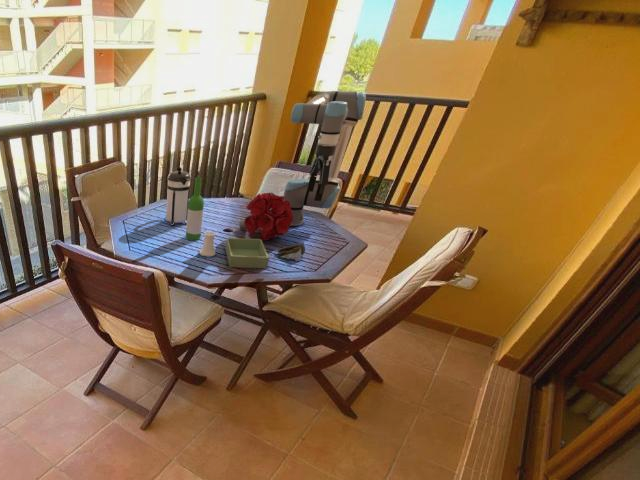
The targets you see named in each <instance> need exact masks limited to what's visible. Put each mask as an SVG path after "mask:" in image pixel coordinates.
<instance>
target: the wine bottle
mask: <svg viewBox="0 0 640 480" xmlns="http://www.w3.org/2000/svg"><path fill="white" fill-rule="evenodd" d="M201 188H202V178H201V177H195V179H194V189H193V195H192V196H191V197H189V203H188V214H187V220H186V223H187V225H186V227H185V237H186V238H187V240H190V241H198V240H200V238H201V237H202V236H201V235H202V227H203V216H204V206H205V201H204V198H203V197H202V196H201Z"/></svg>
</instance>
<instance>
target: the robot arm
mask: <svg viewBox="0 0 640 480" xmlns="http://www.w3.org/2000/svg"><path fill="white" fill-rule="evenodd" d="M366 100H367V93H366V92H364V91H358V90H352V91H351V90H349V91H348V90H330V91H326V92H321V93H319V94H317V95H314V96H313V97H312V98H311V99H310V101H308V102H306V103H303V102H299V103H295V104H294V105H293V107H292V110H291V114H290V122H291V123H294V124H307V125H308V124H309V125H310V124H311V125H321V128H320V131H319V135H318V136H317V139H318V140H317V144H316V147H315V151H314V154H315V157H314V160H313V162H312V165H311V167H310V170H309V178H293V179H290V180H288V181H287V182H286V184H285V187H284V191H283V195H282V196H283V197H285V199H284V200H283V201H285V200H287V201H289V203H290V207H291V212H292V215H294V217H292V218H293V220H292V223H291V225H290V227H289V228H291V227H293V228H294V227H300V226H303V224H304V207H311V208H318V209H327V210H328V209H331V208H332V207H333V205H334V203H335V201H336V200H337V198H338V196H339V193H340V190H341V186H339V183H340V182H339V180H338V176H339V173H340V170H341V166H342V162H343V160H344V157H345V153H346V150H347V147H348V143H349V141H350V138H351V134H352V130H353V128H354V127H355V126H356V125H358V122H359V121H361V120H363V117H364V112H365V108H366V107H365V106H366ZM318 174H319V176H318ZM268 193H269V194H273V195H276V194H275V193H273V192H271V193H270V192H268Z"/></svg>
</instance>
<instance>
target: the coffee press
mask: <svg viewBox="0 0 640 480" xmlns="http://www.w3.org/2000/svg"><path fill="white" fill-rule="evenodd" d="M182 170H183V169H182V167H181V166H178V167H177V170H175V171H172V172H170V173H168V176H167V177H166V178H167V179H166V180H167V185H166V189H167V193H166V209H165V210H166V213H165V218H164V219H163V221H164V222H169V223H170V224H173V223H174V224H173V225H170V224H169V226H170V227H174V225H175V224H181V223H184V224H185V225H186V226H187V214H188V203H189V199H190V189H191V180H192V177H191V175H190V173H189V172H187V171H184V170H183V171H182Z"/></svg>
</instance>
